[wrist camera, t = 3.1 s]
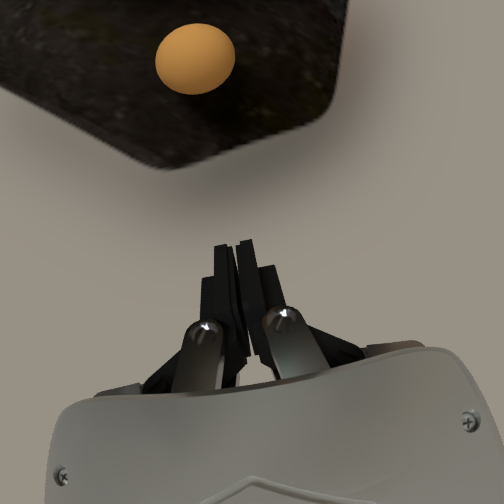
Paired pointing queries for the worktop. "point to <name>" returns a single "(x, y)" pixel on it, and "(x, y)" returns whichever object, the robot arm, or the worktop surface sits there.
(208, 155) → the worktop surface
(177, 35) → the ball
